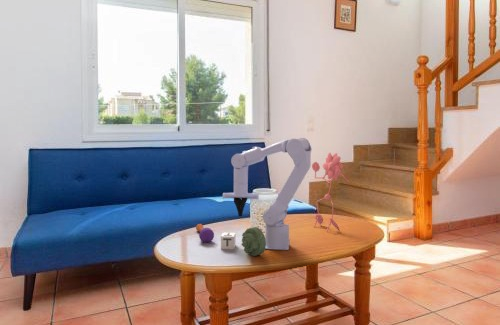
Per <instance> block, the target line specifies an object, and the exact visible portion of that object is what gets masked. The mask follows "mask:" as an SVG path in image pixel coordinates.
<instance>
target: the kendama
mask: <svg viewBox="0 0 500 325" xmlns="http://www.w3.org/2000/svg"><path fill="white" fill-rule="evenodd" d="M195 229H196V231H197V232H199V234H198V236H199V237H198V238H199V239H200V241H201V242H202V243H204V244H205V243H209V244H210V243H211V242H212V241H213V240H214V237H215V233H214V231H213V230H212V228H209V227H204V226H203V224H202V223H198V224H197V225H196V226H195Z"/></svg>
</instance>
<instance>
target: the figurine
mask: <svg viewBox="0 0 500 325" xmlns="http://www.w3.org/2000/svg"><path fill="white" fill-rule="evenodd" d="M311 167H312V170H313V171H314V179H322V180H324V181H326V182H327V183H328V184H329V189H328V192H327V193H326V194H325V195H324V197H323V198H321V199H318V200H316V208H317V214H316V215H315V218H314V219H315V223H314V225H313V227H314V228H315V227H316V225H317V223H318V224H319V225H322V224H323V223H324V217H323V216H322V215H321V214H320V211H319V203H318V202H319V201H322V200H324V199H325V200H326V201H328V200H330V202H331V204H332V207H334V202H333V201H332V198H331V194H330V191H331V188H332V184H333V183H332V181H333V180H335V181H337V180H338V178H339V176H342V177H343V178H344V179H345V181H347V182H348V183H349V184H350V183H351V182H350V181H349V179H348V178H346V176H345V175H344V174H343V173H342V169H343V168H344V165H343V162H341V156H338V153H334V154H332V153H331V152H328V154H327V156H326V157H325V163H323V164H322V168H323V169H324V170H325V172H324V175H323V177H322V176H321V177H318V176H317V172H319V171H320V169H321V166H320V165H319V163H318V162H317V161H314V162H313V163H312V164H311ZM326 177H327V178H326ZM329 180H330V181H329ZM331 213H332V214H331V217H329V221H330V222H329V221H328V222H327V221H326V223H327V224H328V226H327V229H326V233H328V231H329V229H330V226H331V225H332V226H333V227H334V228H335V229H337V231H339V232H340V228H339V224H338V223H336V221H335V220H334V218H333V216H334V208H332V211H331ZM344 227H345V228H347V226H346V225H344ZM335 235H338V234H333V236H335Z"/></svg>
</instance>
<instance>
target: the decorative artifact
mask: <svg viewBox="0 0 500 325" xmlns="http://www.w3.org/2000/svg"><path fill="white" fill-rule="evenodd" d="M241 236H242V238H241V242H242V243H241V245H242V247H243V248H244V249H243V250H244V252H245V253H246V254H247V255H250V256H253V257H255V256H259V255H262V254H263V253H264V252H265V251H266V249H265V247H266V240H265V235H264V232H263V231H262V230H261V229H260V228H259V227H257V226H254V227H249V228H248V227H247V229H246V230H245V231H244V232H242V234H241Z"/></svg>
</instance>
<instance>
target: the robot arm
mask: <svg viewBox="0 0 500 325" xmlns="http://www.w3.org/2000/svg"><path fill="white" fill-rule="evenodd" d="M312 150H313V149H312V145H311V144H310V142H309V140H308V139H307V138H305V137H299V138H290V139H286V140H282V141H278V142H276V143H274V144H270V145H269V146H265V147H263V148H262V147H260V146H251V149H249V150H243V151H242V153H235V154H234V155H232V157H231V159H230V161H231V165H232V167H233V192H223V193H222V199H233V203H234V205H235V207H236V211H237V216H238V217H239V218H240V217H243V213H244V209H245V206H246V203H247V200H248V199H249V200H252V199H253V200H259V193H254V192H253V193H252V192H248V191H249V190H248V189H249V186H248V185H249V184H248V183H249V181H248V180H249V166H251V165H254V164H257V163H259V162H263V161H264V160H265V158H266V157H269V156H271V155H274V154H277V153H280V152H282V153H287V154H288V156H290V158H291V159H292V161H293V164H294V167H293V169H292V171H291V173H290V174H289V176H288V177H287V180H285V183H284V185H283V186H282V188H281V190H280V192H279V193H278V196H277V197H276V199H275V201H273V203H271V205H270V206H269V208H268V209H266V210H265V211H264V212H263V214H262V220H263V222H264V224H265V235H264V236H265V240H266V247H265V250H277V251H278V250H281V251H286V250H287V251H288V250H290V249H289V248H290V246H289V245H290V244H291V242H290V240H291V239H290V225H289V224H285V221H284V220H286V217H287V212H288V209H289V208H290V207H289V204H290V203H291V201H292V199H293V198H294V196H295V194H296V192H297V191H298V189H299V187H300V186H301V184H302V182H303V181H304V179H305V177H306V175H307V174H308V172H309V170H310V168H311V166H312V164H311V163H312V162H311V160H312V159H311V153H312Z"/></svg>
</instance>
